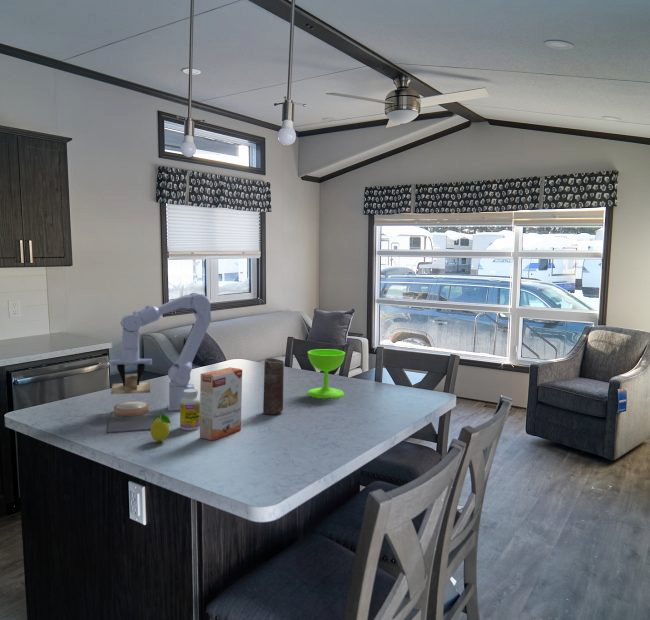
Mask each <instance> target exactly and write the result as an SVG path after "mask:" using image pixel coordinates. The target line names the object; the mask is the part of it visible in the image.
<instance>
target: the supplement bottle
mask: <svg viewBox="0 0 650 620" xmlns="http://www.w3.org/2000/svg"><path fill="white" fill-rule="evenodd" d="M183 394H184V397H183V398H182V399H181V401H180V410H179V412H180V413H179V417H180V418H179V419H180V420H179V428H180V429H181V430H183V431H196V430H198V429H199V430H200V397H198V394H199V390H198V389H195V388H194V389H186V390H184V391H183Z"/></svg>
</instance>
